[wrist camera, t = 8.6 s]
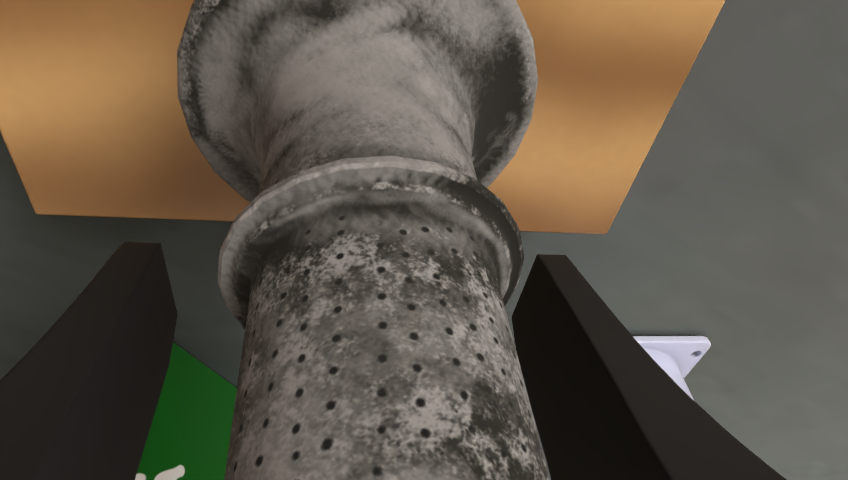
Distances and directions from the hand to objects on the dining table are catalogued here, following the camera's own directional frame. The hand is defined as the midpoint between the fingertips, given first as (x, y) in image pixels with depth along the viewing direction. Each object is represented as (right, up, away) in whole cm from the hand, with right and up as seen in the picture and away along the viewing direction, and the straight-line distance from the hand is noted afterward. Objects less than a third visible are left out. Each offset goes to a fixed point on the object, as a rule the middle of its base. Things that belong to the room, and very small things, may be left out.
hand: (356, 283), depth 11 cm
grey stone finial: (0, +6, +1) cm, 6 cm away
